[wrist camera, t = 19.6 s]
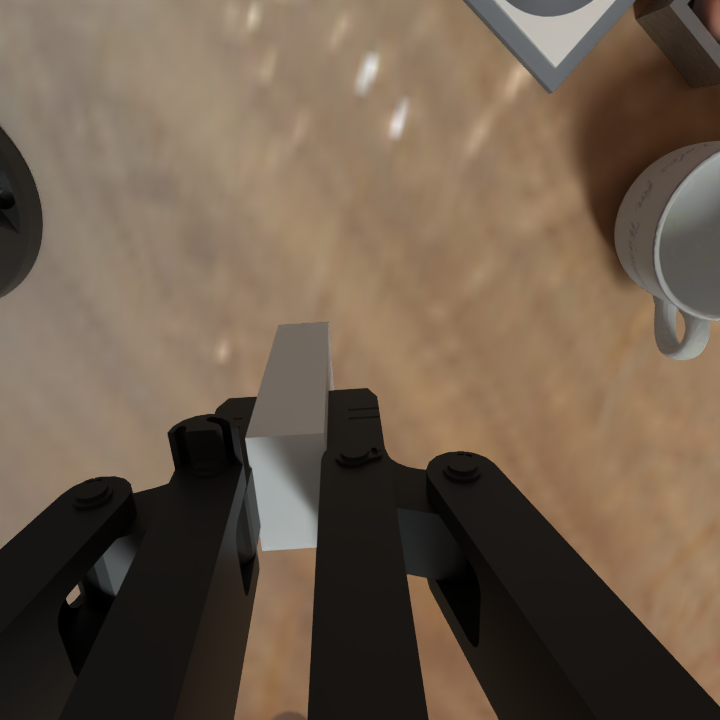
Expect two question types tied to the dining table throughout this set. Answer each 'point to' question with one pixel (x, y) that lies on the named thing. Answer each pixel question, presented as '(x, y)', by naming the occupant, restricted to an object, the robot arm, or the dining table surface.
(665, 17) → the button housing
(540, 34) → the board
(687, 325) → the teacup
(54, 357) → the dining table surface
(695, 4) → the button
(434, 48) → the dining table surface
